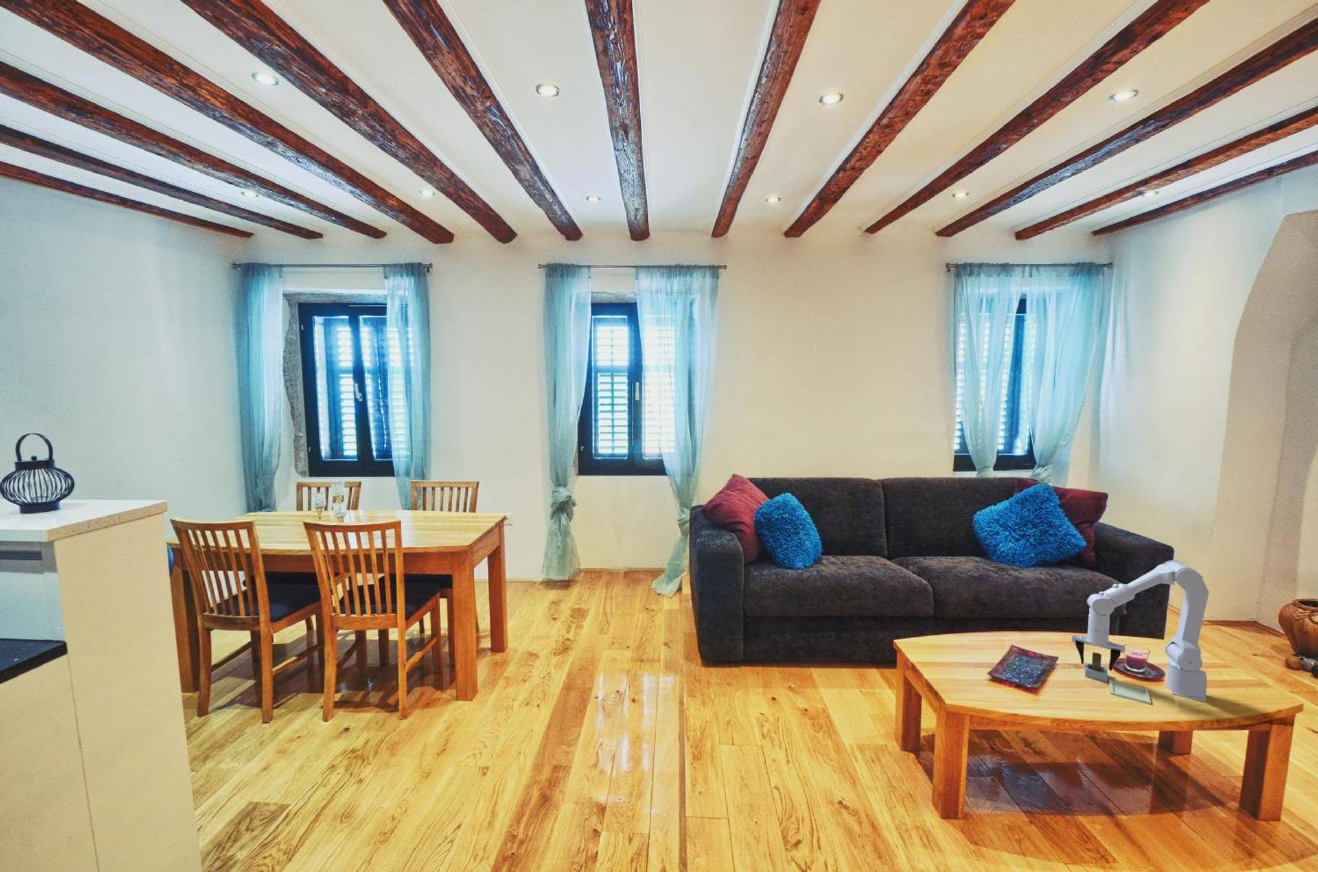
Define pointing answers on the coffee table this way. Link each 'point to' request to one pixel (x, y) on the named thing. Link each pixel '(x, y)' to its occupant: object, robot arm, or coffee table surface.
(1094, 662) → the dowel
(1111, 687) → the tray
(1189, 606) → the robot arm
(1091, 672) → the grey open box
